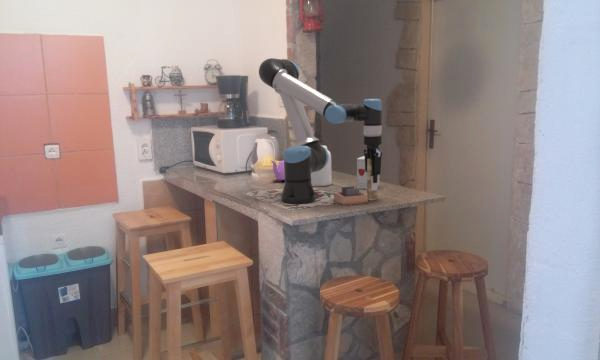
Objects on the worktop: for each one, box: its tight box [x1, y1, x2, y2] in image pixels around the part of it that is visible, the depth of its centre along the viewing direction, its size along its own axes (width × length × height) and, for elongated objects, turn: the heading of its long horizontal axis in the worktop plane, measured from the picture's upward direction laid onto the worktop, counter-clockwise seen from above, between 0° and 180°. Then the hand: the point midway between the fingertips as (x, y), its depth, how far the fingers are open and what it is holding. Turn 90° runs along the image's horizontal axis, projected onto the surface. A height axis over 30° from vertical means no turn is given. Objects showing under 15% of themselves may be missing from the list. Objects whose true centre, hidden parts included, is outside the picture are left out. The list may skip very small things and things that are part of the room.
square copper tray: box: [333, 185, 369, 206], centre depth 207 cm, size 11×11×6 cm
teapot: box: [270, 160, 285, 182], centre depth 260 cm, size 20×14×12 cm
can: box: [311, 144, 333, 187], centre depth 247 cm, size 12×12×20 cm
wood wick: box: [366, 159, 379, 201], centre depth 209 cm, size 4×2×18 cm, turn 107°
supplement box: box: [356, 155, 380, 190], centre depth 236 cm, size 9×9×15 cm
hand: (372, 189), depth 210 cm, fingers closed on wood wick, 2 cm apart
